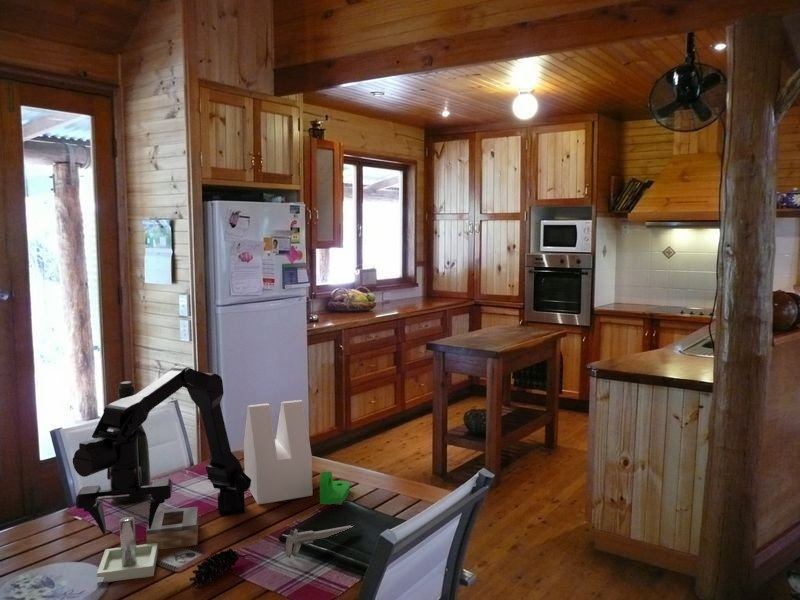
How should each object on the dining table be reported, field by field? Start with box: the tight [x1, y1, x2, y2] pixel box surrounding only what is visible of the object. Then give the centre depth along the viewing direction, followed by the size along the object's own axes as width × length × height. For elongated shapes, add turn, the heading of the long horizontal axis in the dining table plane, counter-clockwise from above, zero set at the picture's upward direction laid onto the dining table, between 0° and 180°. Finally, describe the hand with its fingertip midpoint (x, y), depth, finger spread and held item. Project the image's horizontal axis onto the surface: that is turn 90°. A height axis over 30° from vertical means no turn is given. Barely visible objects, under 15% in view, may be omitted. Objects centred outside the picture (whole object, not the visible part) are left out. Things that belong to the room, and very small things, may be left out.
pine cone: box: [188, 547, 252, 589], centre depth 139 cm, size 18×5×5 cm
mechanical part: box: [319, 470, 351, 505], centre depth 181 cm, size 12×6×8 cm, turn 171°
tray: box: [96, 543, 159, 583], centre depth 141 cm, size 11×11×2 cm
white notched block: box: [243, 399, 313, 505], centre depth 186 cm, size 19×15×25 cm
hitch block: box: [145, 505, 199, 551], centre depth 155 cm, size 11×11×5 cm
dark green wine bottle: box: [109, 380, 152, 506], centre depth 178 cm, size 10×10×33 cm
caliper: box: [285, 524, 354, 559], centre depth 151 cm, size 20×1×6 cm, turn 134°
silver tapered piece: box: [119, 516, 137, 567], centre depth 141 cm, size 6×3×10 cm, turn 20°
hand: (127, 530), depth 141 cm, fingers open, 9 cm apart
